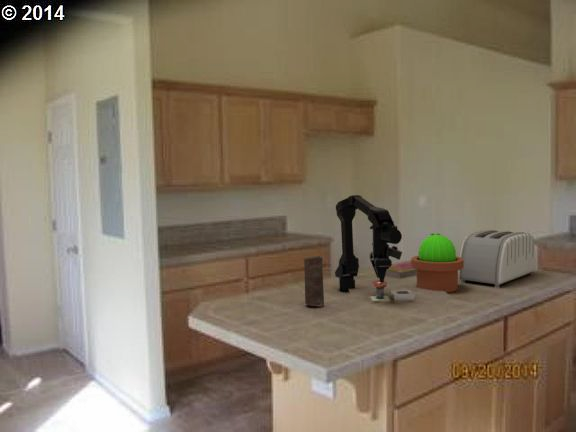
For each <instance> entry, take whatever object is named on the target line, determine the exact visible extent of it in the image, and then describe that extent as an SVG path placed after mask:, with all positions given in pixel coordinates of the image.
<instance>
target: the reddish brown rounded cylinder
mask: <svg viewBox="0 0 576 432" xmlns="http://www.w3.org/2000/svg"><path fill="white" fill-rule="evenodd" d="M372 283H373V287H375V290H376V291H375V292H376V293H375V295H376V298H377V299H384V295H385V294H384V293H385V288H387V280H384V282H382V283H381V282H380V279H379V280H378V279H377V280H373V281H372Z"/></svg>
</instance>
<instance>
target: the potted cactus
mask: <svg viewBox="0 0 576 432" xmlns="http://www.w3.org/2000/svg"><path fill="white" fill-rule="evenodd" d="M456 251H457V249H456V246H455V244H454V243H453V242H452V240H451V239H449V237H448V236H447V237H446V236H445V235H443V234H440V233H436V234H435V233H430V234H429V236H426V238H424V239H423V241H421V243H420V245H419V249H418V253H417V255H415V256H412V257H411V258H410V260H411V267H412V268H414V269H417V275H416V288H419V289H425V290H431V291H444V292H445V293H446V294H449V293H454V292H456V291H457V290H458V287H459V281H458V280H459V279H458V277H459V276H458V270H461V269H463V261H464V260H463V258H461V257H460V256H457V255H458V253H457V252H456Z"/></svg>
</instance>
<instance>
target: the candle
mask: <svg viewBox="0 0 576 432" xmlns="http://www.w3.org/2000/svg"><path fill="white" fill-rule="evenodd" d="M303 264H304V266H303V267H304V300H305V305H307V306H309V307H321V308H322V307H324V305H325V298H324V297H325V296H324V295H325V294H324V271H323V270H324V269H323V268H324V267H323V256H321V255H310V256H308V257H304V258H303Z"/></svg>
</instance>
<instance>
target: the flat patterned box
mask: <svg viewBox="0 0 576 432" xmlns="http://www.w3.org/2000/svg"><path fill="white" fill-rule="evenodd" d="M415 276H417V269H414V268H412V267H411V261H406V262H400V263H396V264H392V266H391V267H390V268H388V269H387V270H386V274H385V277H389V278H395V279H399V280H400V279H403V278H404V279H405V278H409V277H415Z"/></svg>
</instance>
